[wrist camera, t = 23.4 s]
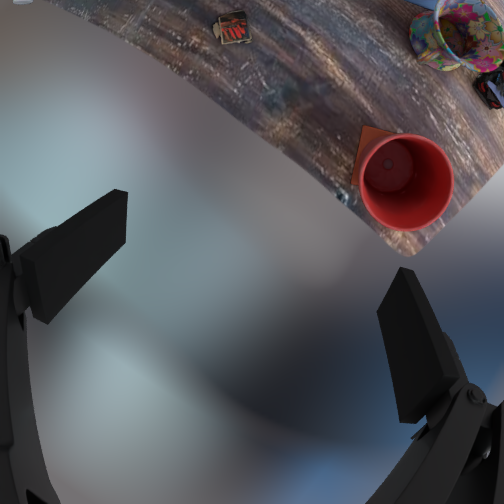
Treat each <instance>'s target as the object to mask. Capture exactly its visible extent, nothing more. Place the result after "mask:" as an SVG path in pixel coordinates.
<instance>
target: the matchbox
mask: <svg viewBox="0 0 504 504" xmlns="http://www.w3.org/2000/svg"><path fill="white" fill-rule="evenodd" d="M248 21H249V20H248V17H247V16H246V14H245V12H244V10H239V11H235V12H234V11H233V12H230V13H227V14H225V15H223V16H221V17H219V25H220V26H219V25H218V24H217V23H218V22H217V23H215V24H214V25H213V26H214V28H212V29H213V31H214V34H215V35H216V37H217V38H219V35H220V34H221V35H220V37H221V38H222V40H221V42H222V44H228V43H233V42H238V43H240V41H246V40H249V41H246V42H245V43H247V44H248V43H250V42H252V41H253V40H252V41H251V40H250V39H251V38H252V37H251V36H252V35H251V33H250V31H251V30H250V28H249V23H248ZM219 27H220V29H219ZM254 41H255V40H254Z"/></svg>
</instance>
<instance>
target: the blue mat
mask: <svg viewBox="0 0 504 504" xmlns="http://www.w3.org/2000/svg"><path fill="white" fill-rule="evenodd" d="M404 1H407V2H410V3H413V4H416V5H418V6H421V7H424V8H426V9H429V10H431V11H434V8H435V5H436V3H437V1H438V0H404Z"/></svg>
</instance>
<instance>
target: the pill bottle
mask: <svg viewBox="0 0 504 504" xmlns="http://www.w3.org/2000/svg"><path fill="white" fill-rule="evenodd" d="M32 2H33V0H13V4H30V3H32Z"/></svg>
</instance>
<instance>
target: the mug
mask: <svg viewBox="0 0 504 504" xmlns="http://www.w3.org/2000/svg"><path fill="white" fill-rule="evenodd" d="M409 37H410V42H411V45H412V47H413V49H414V51H415V53H416V54H417V55H418V57H417V59H416V61H417V63H418V64H419V65H424V64H427V65H429V66H430V67H432V68H434V69H437V70H441V71H450V70H454V69H456V68H458V67H459V66H460V65H462V66H464V67H466V68H468V69H470V70H472V71H476V72H490V71H493V70H495V69H496V68H497V67H499V65H500V64H501V63H502V61H503V59H504V30H503V27H502V25H501V23H500V21H499V19H498V18H497V16H496V14H495V13H494V12H493V11H492V9H491V8H490V7H489V6H488V5H487V4H486V3H485V2H483V1H482V0H438V1H437V3H436V5H435V8H434V11H425V12H422V13H420V14H418V15H417V16H415V17H414V19H413V20H412V22H411V24H410V28H409Z"/></svg>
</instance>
